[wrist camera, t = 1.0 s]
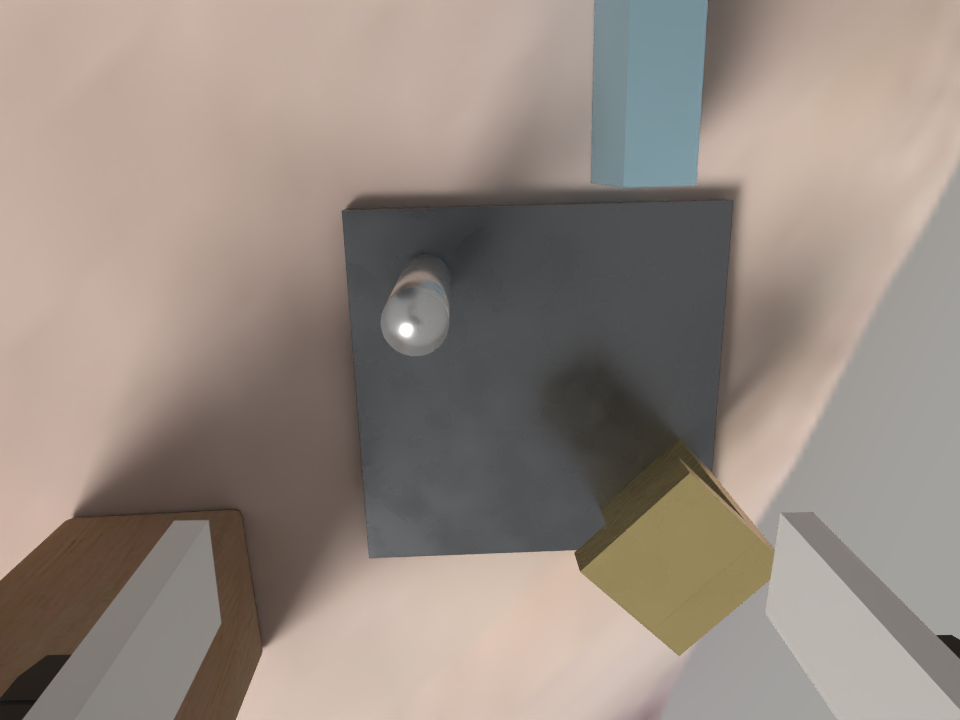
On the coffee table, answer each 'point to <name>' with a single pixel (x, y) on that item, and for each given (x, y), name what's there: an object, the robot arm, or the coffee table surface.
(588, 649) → the coffee table surface
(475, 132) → the coffee table surface
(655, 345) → the plate
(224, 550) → the wooden block
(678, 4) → the link
